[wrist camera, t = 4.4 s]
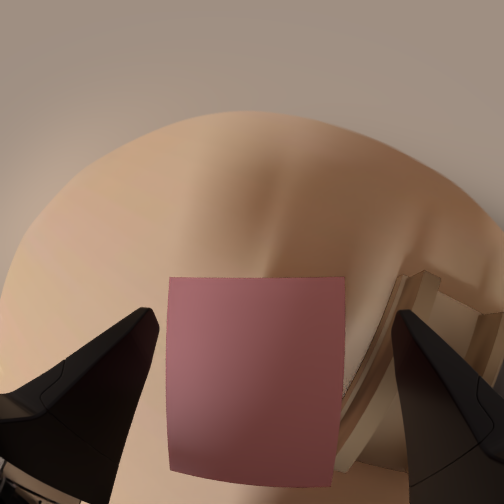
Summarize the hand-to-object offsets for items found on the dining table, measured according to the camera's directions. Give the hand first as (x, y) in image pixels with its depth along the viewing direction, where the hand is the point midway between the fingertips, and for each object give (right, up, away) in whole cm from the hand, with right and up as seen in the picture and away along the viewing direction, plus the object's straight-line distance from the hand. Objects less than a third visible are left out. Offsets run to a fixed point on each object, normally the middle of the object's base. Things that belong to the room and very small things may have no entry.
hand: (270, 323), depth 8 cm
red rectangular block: (+1, -3, +6) cm, 7 cm away
